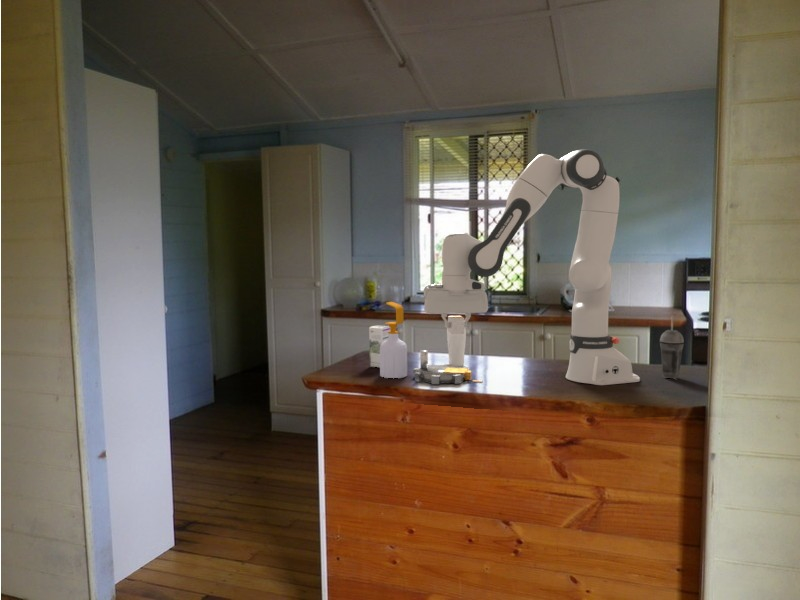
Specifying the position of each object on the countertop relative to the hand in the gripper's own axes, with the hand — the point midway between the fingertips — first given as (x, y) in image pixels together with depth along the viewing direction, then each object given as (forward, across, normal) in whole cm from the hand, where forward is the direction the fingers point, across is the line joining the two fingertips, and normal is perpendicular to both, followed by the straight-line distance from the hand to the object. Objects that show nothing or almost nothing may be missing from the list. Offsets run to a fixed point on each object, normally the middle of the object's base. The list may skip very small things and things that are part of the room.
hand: (456, 327), depth 196 cm
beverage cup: (+17, +68, -9) cm, 70 cm away
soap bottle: (+17, -19, +9) cm, 27 cm away
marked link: (+2, 0, 0) cm, 2 cm away
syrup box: (+17, -22, +25) cm, 37 cm away
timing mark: (+17, +6, -4) cm, 18 cm away
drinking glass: (+17, +5, +22) cm, 28 cm away
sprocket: (+17, -4, +2) cm, 18 cm away
